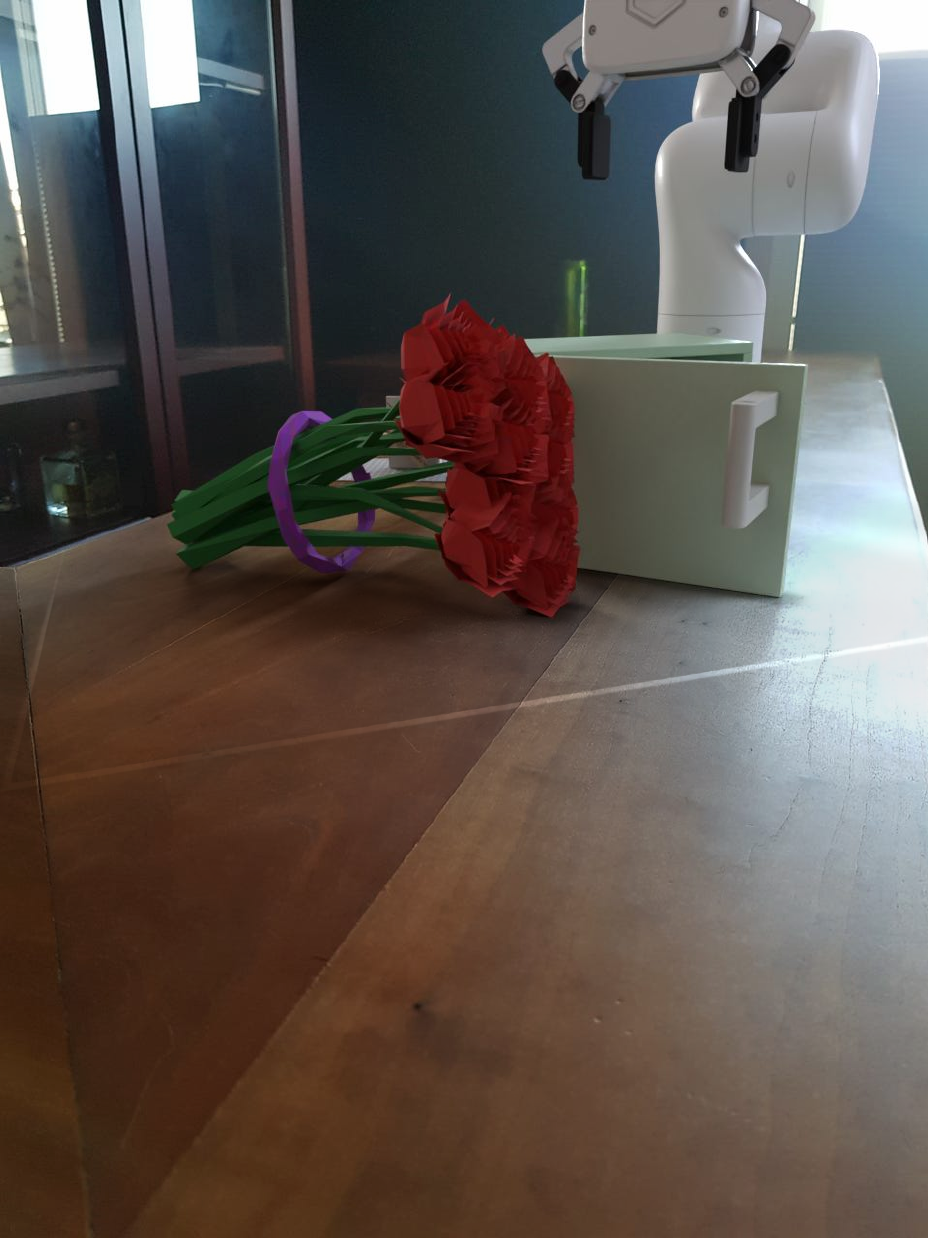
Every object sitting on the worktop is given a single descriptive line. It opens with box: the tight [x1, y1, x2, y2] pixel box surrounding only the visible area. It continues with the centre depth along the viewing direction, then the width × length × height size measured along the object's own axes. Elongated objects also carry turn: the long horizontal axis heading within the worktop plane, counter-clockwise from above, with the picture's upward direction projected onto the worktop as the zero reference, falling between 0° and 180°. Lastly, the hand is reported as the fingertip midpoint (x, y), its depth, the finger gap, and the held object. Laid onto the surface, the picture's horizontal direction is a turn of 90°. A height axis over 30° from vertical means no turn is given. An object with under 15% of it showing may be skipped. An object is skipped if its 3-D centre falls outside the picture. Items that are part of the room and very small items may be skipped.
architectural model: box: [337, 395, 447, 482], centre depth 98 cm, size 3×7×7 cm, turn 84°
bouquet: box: [166, 292, 580, 618], centre depth 62 cm, size 20×16×30 cm
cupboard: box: [524, 333, 754, 362], centre depth 74 cm, size 11×18×15 cm, turn 108°
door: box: [535, 355, 809, 598], centre depth 59 cm, size 7×18×14 cm, turn 61°
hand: (663, 175), depth 62 cm, fingers open, 9 cm apart
